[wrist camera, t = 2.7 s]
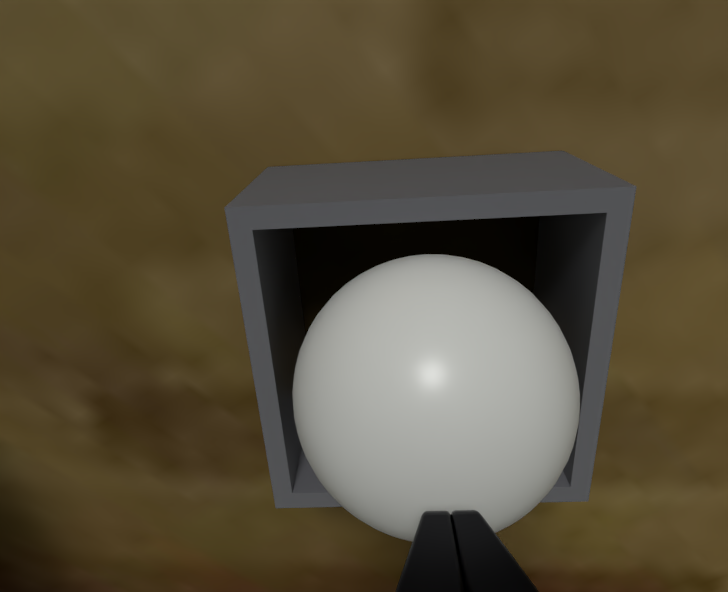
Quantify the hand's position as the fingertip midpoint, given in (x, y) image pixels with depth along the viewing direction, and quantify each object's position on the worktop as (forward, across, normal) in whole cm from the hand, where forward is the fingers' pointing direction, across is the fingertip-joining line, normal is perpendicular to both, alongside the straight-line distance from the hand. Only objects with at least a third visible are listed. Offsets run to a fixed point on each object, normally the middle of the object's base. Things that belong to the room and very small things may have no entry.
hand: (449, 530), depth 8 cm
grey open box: (+9, 0, 0) cm, 9 cm away
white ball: (+7, 0, 0) cm, 7 cm away
